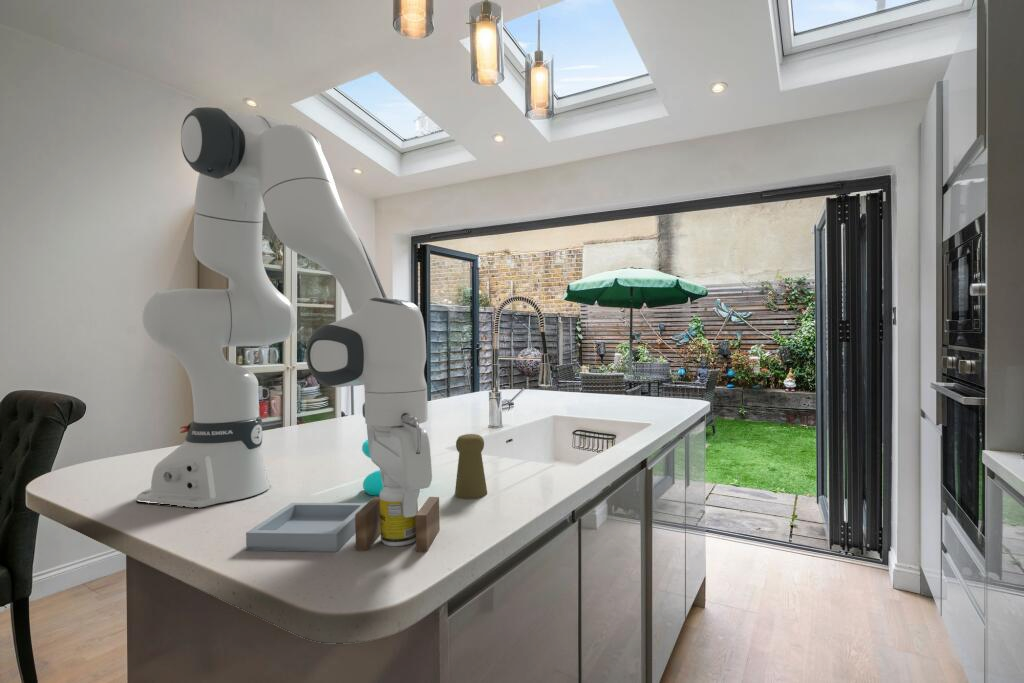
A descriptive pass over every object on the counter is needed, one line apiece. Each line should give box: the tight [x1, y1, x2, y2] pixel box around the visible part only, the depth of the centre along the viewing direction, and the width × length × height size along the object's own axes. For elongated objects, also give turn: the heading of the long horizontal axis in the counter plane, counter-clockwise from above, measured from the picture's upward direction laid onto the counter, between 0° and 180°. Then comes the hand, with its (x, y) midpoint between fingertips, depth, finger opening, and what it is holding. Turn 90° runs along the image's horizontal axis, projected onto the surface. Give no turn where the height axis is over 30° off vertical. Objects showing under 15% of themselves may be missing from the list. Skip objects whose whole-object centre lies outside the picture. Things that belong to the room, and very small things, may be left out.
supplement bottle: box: [379, 473, 419, 547], centre depth 76 cm, size 5×5×10 cm
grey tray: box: [245, 502, 368, 553], centre depth 79 cm, size 13×13×2 cm
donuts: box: [361, 439, 383, 497], centre depth 101 cm, size 10×10×10 cm
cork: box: [454, 433, 488, 500], centre depth 98 cm, size 6×6×11 cm
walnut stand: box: [355, 496, 441, 553], centre depth 76 cm, size 10×8×5 cm
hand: (399, 505), depth 76 cm, fingers open, 8 cm apart
